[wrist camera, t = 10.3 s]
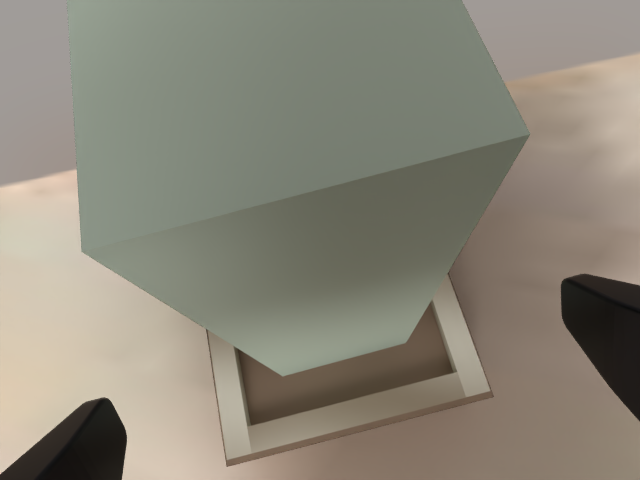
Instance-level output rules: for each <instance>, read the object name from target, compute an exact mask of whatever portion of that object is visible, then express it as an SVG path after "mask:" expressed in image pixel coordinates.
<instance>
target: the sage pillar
mask: <svg viewBox="0 0 640 480" xmlns="http://www.w3.org/2000/svg"><path fill="white" fill-rule="evenodd" d="M67 9H68V10H67V11H68V26H69V43H70V44H69V45H70V62H71V78H72V96H73V113H74V129H75V147H76V164H77V180H78V197H79V214H80V231H81V248H82V252H83V253H84V254H86V255H88V256H89V257H91V258H92V259H94V260H96V261H97V262H99V263H101V264H102V265H104V266H105V267H107V268H109V269H110V270H112V271H113V272H115V273H117V274H118V275H120V276H122V277H123V278H125V279H126V280H128V281H130V282H131V283H133V284H134V285H136V286H138V287H139V288H141V289H143V290H144V291H146V292H147V293H149V294H151V295H152V296H154V297H155V298H157V299H159V300H160V301H162V302H164V303H165V304H167V305H168V306H170V307H172V308H173V309H175V310H176V311H178V312H180V313H181V314H183V315H184V316H186V317H188V318H189V319H191V320H193V321H194V322H196V323H197V324H199V325H201V326H202V327H204V328H205V329H207V330H209V331H210V332H212V333H214V334H215V335H217V336H218V337H220V338H222V339H223V340H225V341H226V342H228V343H230V344H231V345H233V346H235V347H236V348H238V349H239V350H241V351H243V352H244V353H246V354H247V355H249V356H251V357H252V358H254V359H255V360H257V361H259V362H260V363H262V364H264V365H265V366H267V367H268V368H270V369H272V370H273V371H275V372H276V373H278V374H280V375H281V376H286V375H290V374H293V373H297V372H301V371H304V370H308V369H312V368H316V367H319V366H323V365H327V364H330V363H334V362H338V361H341V360H345V359H349V358H352V357H356V356H360V355H364V354H367V353H371V352H375V351H378V350H382V349H386V348H389V347H393V346H397V345H400V344H404V343H406V342H407V340H408V339H409V337H410V335H411V334H412V332H413V330H414V329H415V327H416V325H417V324H418V322H419V320H420V319H421V317H422V315H423V314H424V312H425V310H426V308H427V307H428V305H429V303H430V302H431V300H432V298H433V297H434V295H435V293H436V292H437V290H438V288H439V287H440V285H441V283H442V282H443V280H444V278H445V277H446V275H447V273H448V272H449V270H450V268H451V266H452V265H453V263H454V261H455V260H456V258H457V256H458V255H459V253H460V251H461V250H462V248H463V246H464V245H465V243H466V241H467V240H468V238H469V236H470V235H471V233H472V231H473V230H474V228H475V226H476V224H477V223H478V221H479V219H480V218H481V216H482V214H483V213H484V211H485V209H486V208H487V206H488V204H489V203H490V201H491V199H492V198H493V196H494V194H495V193H496V191H497V189H498V188H499V186H500V184H501V182H502V181H503V179H504V177H505V176H506V174H507V172H508V171H509V169H510V167H511V166H512V164H513V162H514V161H515V159H516V157H517V156H518V154H519V152H520V151H521V149H522V147H523V146H524V144H525V142H526V141H527V139H528V137H529V135H530V133H529V131H528V129H527V127H526V125H525V123H524V121H523V119H522V117H521V115H520V113H519V111H518V109H517V107H516V105H515V103H514V101H513V99H512V97H511V95H510V93H509V92H508V90H507V88H506V86H505V84H504V82H503V80H502V78H501V76H500V74H499V73H498V70H497V68H496V66H495V64H494V62H493V60H492V58H491V56H490V54H489V52H488V51H487V49H486V47H485V45H484V43H483V41H482V39H481V37H480V35H479V33H478V31H477V29H476V27H475V25H474V23H473V21H472V19H471V17H470V15H469V14H468V11H467V10H466V8H465V6H464V4H463V2H462V0H67Z"/></svg>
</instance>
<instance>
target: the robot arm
mask: <svg viewBox="0 0 640 480" xmlns="http://www.w3.org/2000/svg"><path fill="white" fill-rule="evenodd" d="M561 309H562V319H563V322H564V324H565V326H566V327H567V329H568V330H569V332H570V333H571V335H572V336H573V337H574V339H575V340H576V341H577V343H578V344H579V346H580V347H581V348H582V350H583V351H584V352H585V354H586V355H587V357H588V358H589V359H590V361H591V362H592V364H593V365H594V366H595V368H596V369H597V370H598V372H599V373H600V375H601V376H602V377H603V379H604V380H605V381H606V383H607V384H608V385H609V387H610V388H611V389H612V390H613V391H614V393H615V394H616V395H617V396H618V397H619V399H620V400H621V401H622V402H623V403H624V404H625V405H626V406H627V408H628V409H629V410H630V411H631V412H632V413H633V414H634V415H635V416H636V418H637V419H638V420H639V421H640V285H635V284H631V283H626V282H621V281H617V280H612V279H607V278H603V277H598V276H593V275H589V274H580V275H576V276H572V277H568V278H565V279H564V280H563V281H562V284H561ZM126 444H127V435H126V430H125V427H124V425H123V423H122V421H121V419H120V418H119V416H118V414H117V412H116V410H115V408H114V406H113V404H112V402H111V401H110V400H109V399H108V398H105V397H104V398H99V399H95V400H91V401H88V402H85V403H83V404H82V405H81V406H80V407H78V408H77V409H76V410H75V411H74V412H73V413H71V414H70V415H69V416H68V417H67V418H65V419H64V420H63V421H62V422H61V423H60V424H58V425H57V426H56V427H55V428H54V429H53V430H51V431H50V432H49V433H48V434H47V435H46V436H44V437H43V438H42V439H41V440H40V441H39V442H37V443H36V444H35V445H34V446H33V447H32V448H30V449H29V450H28V451H27V452H26V453H25V454H23V455H22V456H21V457H20V458H19V459H18V460H16V461H15V462H14V463H13V464H12V465H11V466H9V467H8V468H7V469H6V470H5V471H4V472H2V473H1V474H0V480H122V474H123V466H124V459H125V451H126Z"/></svg>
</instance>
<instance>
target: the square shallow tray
mask: <svg viewBox="0 0 640 480" xmlns="http://www.w3.org/2000/svg"><path fill="white" fill-rule="evenodd" d="M206 331H207V337H208V344H209V351H210V358H211V364H212V371H213V378H214V385H215V392H216V398H217V405H218V412H219V419H220V425H221V432H222V439H223V446H224V452H225V459H226V466H227V467H228V466H232V465H236V464H240V463H243V462H247V461H251V460H255V459H259V458H262V457H266V456H270V455H274V454H278V453H282V452H285V451H289V450H293V449H297V448H301V447H304V446H308V445H312V444H316V443H320V442H323V441H327V440H331V439H335V438H339V437H343V436H346V435H350V434H354V433H358V432H362V431H365V430H369V429H373V428H377V427H381V426H384V425H388V424H392V423H396V422H400V421H404V420H407V419H411V418H415V417H419V416H423V415H426V414H430V413H434V412H438V411H442V410H445V409H449V408H453V407H457V406H461V405H465V404H468V403H472V402H476V401H480V400H484V399H487V398H491V397H494V396H493V393H492V390H491V388H490V385H489V382H488V380H487V377H486V374H485V371H484V369H483V366H482V363H481V360H480V358H479V355H478V352H477V349H476V347H475V344H474V341H473V339H472V336H471V333H470V330H469V328H468V325H467V322H466V319H465V317H464V314H463V311H462V309H461V306H460V303H459V300H458V298H457V295H456V292H455V289H454V287H453V284H452V281H451V279H450V276H449V273H447V275H446V277H445V278H444V280H443V282H442V283H441V285H440V287H439V288H438V290H437V292H436V293H435V295H434V297H433V298H432V300H431V302H430V303H429V305H428V307H427V308H426V310H425V312H424V314H423V315H422V317H421V319H420V320H419V322H418V324H417V325H416V327H415V329H414V330H413V332H412V334H411V335H410V337H409V339H408V340H407V342H406V343H404V344H400V345H397V346H393V347H389V348H386V349H382V350H378V351H375V352H371V353H367V354H364V355H360V356H356V357H352V358H349V359H345V360H341V361H338V362H334V363H330V364H327V365H323V366H319V367H316V368H312V369H308V370H304V371H301V372H297V373H293V374H290V375H286V376H281V375H280V374H278V373H276V372H275V371H273V370H272V369H270V368H268V367H267V366H265V365H264V364H262V363H260V362H259V361H257V360H255V359H254V358H252V357H251V356H249V355H247V354H246V353H244V352H243V351H241V350H239V349H238V348H236V347H235V346H233V345H231V344H230V343H228V342H226V341H225V340H223V339H222V338H220V337H218V336H217V335H215V334H214V333H212V332H210V331H209V330H207V329H206Z"/></svg>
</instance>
